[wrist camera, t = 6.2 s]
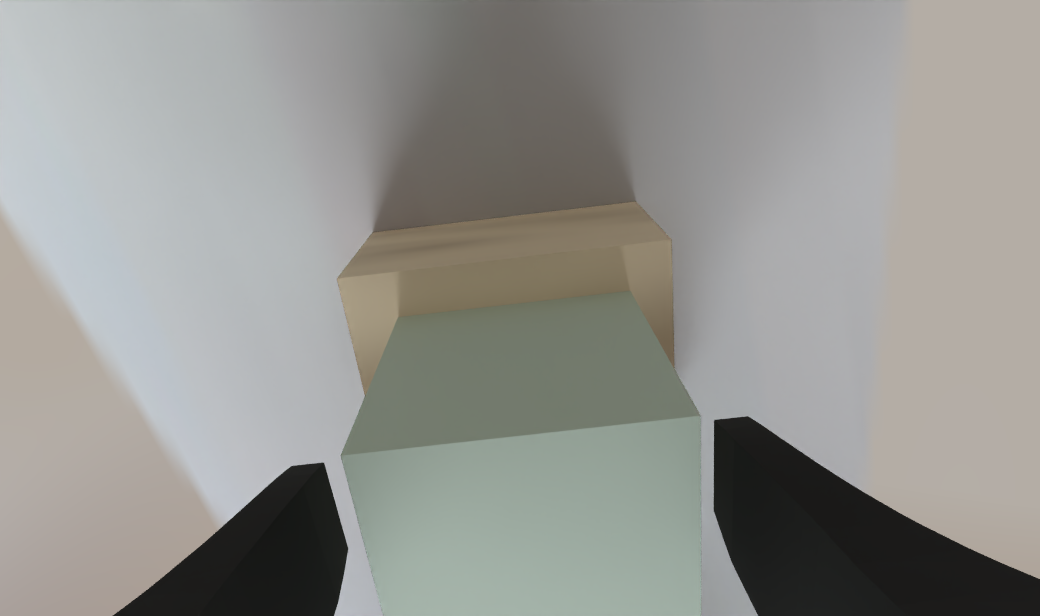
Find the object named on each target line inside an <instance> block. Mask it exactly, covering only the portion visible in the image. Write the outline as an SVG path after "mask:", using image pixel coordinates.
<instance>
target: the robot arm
mask: <svg viewBox="0 0 1040 616" xmlns="http://www.w3.org/2000/svg"><path fill="white" fill-rule="evenodd" d="M714 512H715V515H716V518H717V521H718V524H719V527H720V530H721V533H722V536H723V539H724V542H725V545H726V547H727V550H728V553H729V556H730V558H731V561H732V563H733V565H734V567H735V570H736V572H737V574H738V576H739V578H740V580H741V582H742V584H743V586H744V588H745V590H746V592H747V594H748V596H749V598H750V600H751V602H752V604H753V606H754V608H755V610H756V612H757V614H758V616H1040V579H1038V578H1035V577H1033V576H1031V575H1028V574H1026V573H1024V572H1021V571H1019V570H1017V569H1014V568H1011V567H1009V566H1007V565H1005V564H1002V563H1000V562H998V561H995V560H993V559H991V558H989V557H987V556H984V555H982V554H980V553H978V552H975V551H973V550H971V549H969V548H967V547H965V546H963V545H961V544H959V543H957V542H955V541H953V540H951V539H949V538H947V537H945V536H943V535H941V534H938V533H937V532H935V531H933V530H931V529H929V528H927V527H925V526H922V525H921V524H919V523H917V522H915V521H913V520H911V519H909V518H908V517H906V516H904V515H902V514H900V513H898V512H897V511H895V510H893V509H892V508H890V507H888V506H886V505H884V504H883V503H881V502H879V501H878V500H876V499H874V498H873V497H871V496H869V495H867V494H866V493H864V492H862V491H861V490H859V489H857V488H856V487H854V486H852V485H851V484H849V483H848V482H846V481H844V480H843V479H841V478H840V477H838V476H836V475H835V474H833V473H832V472H830V471H829V470H827V469H826V468H824V467H823V466H821V465H820V464H818V463H816V462H815V461H813V460H812V459H810V458H809V457H808V456H806V455H805V454H803V453H802V452H800V451H799V450H797V449H796V448H794V447H793V446H791V445H790V444H788V443H787V442H785V441H784V440H783V439H781V438H780V437H778V436H777V435H775V434H774V433H772V432H771V431H769V430H768V429H767V428H765V427H764V426H762V425H761V424H759V423H758V422H756V421H754V420H753V419H751V418H750V417H748V416H747V417H738V418H729V419H720V420H714ZM347 553H348V546H347V543H346V539H345V536H344V532H343V529H342V525H341V522H340V518H339V515H338V511H337V507H336V504H335V500H334V497H333V493H332V490H331V486H330V483H329V479H328V475H327V472H326V468H325V465H324V463H316V464H306V465H297V466H291V467H290V468H289V469H287V470H286V471H285V472H283V473H282V474H281V475H280V476H279V477H277V478H276V479H275V480H274V481H273V482H272V483H271V484H269V485H268V486H267V487H266V488H265V489H264V490H263V491H262V492H261V493H259V494H258V495H257V496H256V497H255V498H254V499H253V500H252V501H251V502H249V503H248V504H247V505H246V506H245V507H244V508H243V509H242V510H241V511H240V512H238V513H237V514H236V515H235V516H234V517H233V518H232V519H231V520H229V521H228V522H227V523H226V524H225V525H224V526H223V527H222V528H220V529H219V530H218V531H217V532H216V533H215V534H214V535H213V536H211V537H210V538H209V539H208V540H207V541H206V542H205V543H203V544H202V545H201V546H200V547H199V548H197V549H196V550H195V551H194V552H193V553H191V554H190V555H189V556H188V557H187V558H185V559H184V560H183V561H182V562H181V563H179V564H178V565H177V566H176V567H175V568H173V569H172V570H171V571H170V572H169V573H167V574H166V575H165V576H164V577H163V578H161V579H160V580H159V581H158V582H156V583H155V584H154V585H153V586H151V587H150V588H149V589H148V590H146V591H145V592H144V593H142V594H141V595H140V596H139V597H138V598H136V599H135V600H133V601H132V602H131V603H129V604H128V605H127V606H125V607H124V608H123V609H121V610H120V611H119V612H117V613H116V614H115V615H113V616H334V614H335V610H336V607H337V604H338V600H339V595H340V590H341V585H342V581H343V575H344V570H345V564H346V559H347Z"/></svg>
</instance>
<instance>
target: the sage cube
mask: <svg viewBox="0 0 1040 616" xmlns="http://www.w3.org/2000/svg"><path fill="white" fill-rule="evenodd" d="M341 459H342V462H343V466H344V470H345V474H346V477H347V481H348V485H349V489H350V493H351V496H352V500H353V504H354V508H355V511H356V515H357V519H358V523H359V526H360V530H361V534H362V538H363V542H364V545H365V549H366V553H367V557H368V560H369V564H370V568H371V572H372V575H373V579H374V583H375V587H376V591H377V594H378V598H379V602H380V606H381V609H382V613H383V616H701V416H700V414H699V412H698V410H697V409H696V407H695V405H694V403H693V401H692V400H691V398H690V396H689V394H688V393H687V391H686V389H685V387H684V385H683V384H682V382H681V380H680V378H679V376H678V375H677V373H676V371H675V369H674V368H673V366H672V364H671V362H670V360H669V359H668V357H667V355H666V353H665V352H664V350H663V348H662V346H661V344H660V343H659V341H658V339H657V337H656V336H655V334H654V332H653V330H652V328H651V327H650V325H649V323H648V321H647V320H646V318H645V316H644V314H643V312H642V311H641V309H640V307H639V305H638V304H637V302H636V300H635V298H634V296H633V295H632V293H631V291H624V292H615V293H606V294H597V295H588V296H580V297H571V298H562V299H553V300H544V301H536V302H527V303H518V304H509V305H500V306H491V307H483V308H474V309H465V310H456V311H447V312H439V313H430V314H421V315H412V316H403V317H398V318H397V321H396V323H395V326H394V328H393V330H392V333H391V335H390V338H389V340H388V343H387V345H386V347H385V350H384V352H383V355H382V357H381V359H380V362H379V364H378V367H377V369H376V372H375V374H374V376H373V379H372V381H371V384H370V386H369V388H368V391H367V393H366V396H365V398H364V401H363V403H362V405H361V408H360V410H359V413H358V415H357V417H356V420H355V422H354V425H353V427H352V430H351V432H350V434H349V437H348V439H347V442H346V444H345V446H344V449H343V451H342V454H341Z"/></svg>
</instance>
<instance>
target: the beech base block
mask: <svg viewBox="0 0 1040 616" xmlns="http://www.w3.org/2000/svg"><path fill="white" fill-rule="evenodd" d="M337 282H338V286H339V290H340V294H341V298H342V302H343V306H344V311H345V315H346V319H347V323H348V327H349V331H350V336H351V340H352V344H353V348H354V352H355V356H356V361H357V365H358V369H359V373H360V377H361V381H362V385H363V390H364V394H365V396H366V393H367V391H368V388H369V386H370V384H371V381H372V379H373V376H374V374H375V372H376V369H377V367H378V364H379V362H380V359H381V357H382V355H383V352H384V350H385V347H386V345H387V343H388V340H389V338H390V335H391V333H392V330H393V328H394V326H395V323H396V321H397V318H398V317H403V316H412V315H421V314H430V313H439V312H447V311H456V310H465V309H474V308H483V307H491V306H500V305H509V304H518V303H527V302H536V301H544V300H553V299H562V298H571V297H580V296H588V295H597V294H606V293H615V292H624V291H631V293H632V295H633V296H634V298H635V300H636V302H637V304H638V305H639V307H640V309H641V311H642V312H643V314H644V316H645V318H646V320H647V321H648V323H649V325H650V327H651V328H652V330H653V332H654V334H655V336H656V337H657V339H658V341H659V343H660V344H661V346H662V348H663V350H664V352H665V353H666V355H667V357H668V359H669V360H670V362H671V364H672V366H673V368H674V327H673V283H672V240H671V238H670V237H669V236H668V235H667V234H666V233H665V232H664V231H663V230H662V229H661V228H660V227H659V226H658V225H657V224H656V222H655V221H654V220H653V219H652V218H651V217H650V216H649V215H648V214H647V213H646V212H645V211H644V210H643V209H642V208H641V206H640V205H639V204H638V203H637V202H636V201H635V202H626V203H618V204H610V205H601V206H593V207H584V208H576V209H567V210H559V211H550V212H542V213H533V214H525V215H516V216H508V217H499V218H491V219H482V220H474V221H465V222H457V223H448V224H440V225H431V226H423V227H414V228H406V229H397V230H389V231H380V232H373V233H372V234H371V235H370V237H369V238H368V239H367V240H366V242H365V243H364V244H363V246H362V247H361V248H360V249H359V251H358V252H357V253H356V255H355V256H354V257H353V258H352V260H351V261H350V262H349V264H348V265H347V266H346V267H345V269H344V270H343V271H342V273H341V274H340V275H339V276H338V278H337Z"/></svg>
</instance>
